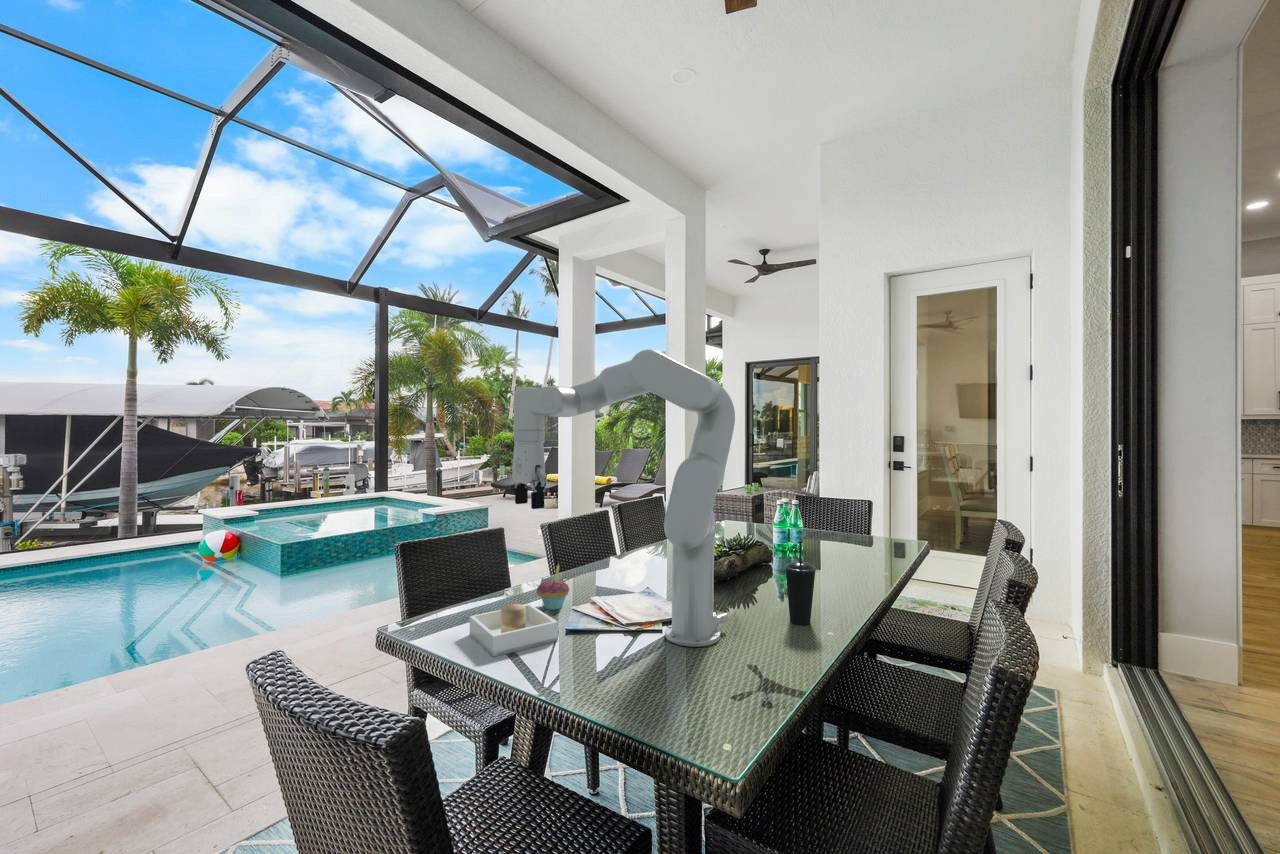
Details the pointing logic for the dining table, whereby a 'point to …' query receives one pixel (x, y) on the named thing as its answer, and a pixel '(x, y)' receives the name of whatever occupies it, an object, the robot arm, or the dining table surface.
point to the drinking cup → (800, 589)
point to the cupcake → (553, 592)
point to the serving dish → (497, 643)
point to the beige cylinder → (512, 617)
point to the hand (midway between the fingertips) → (529, 505)
